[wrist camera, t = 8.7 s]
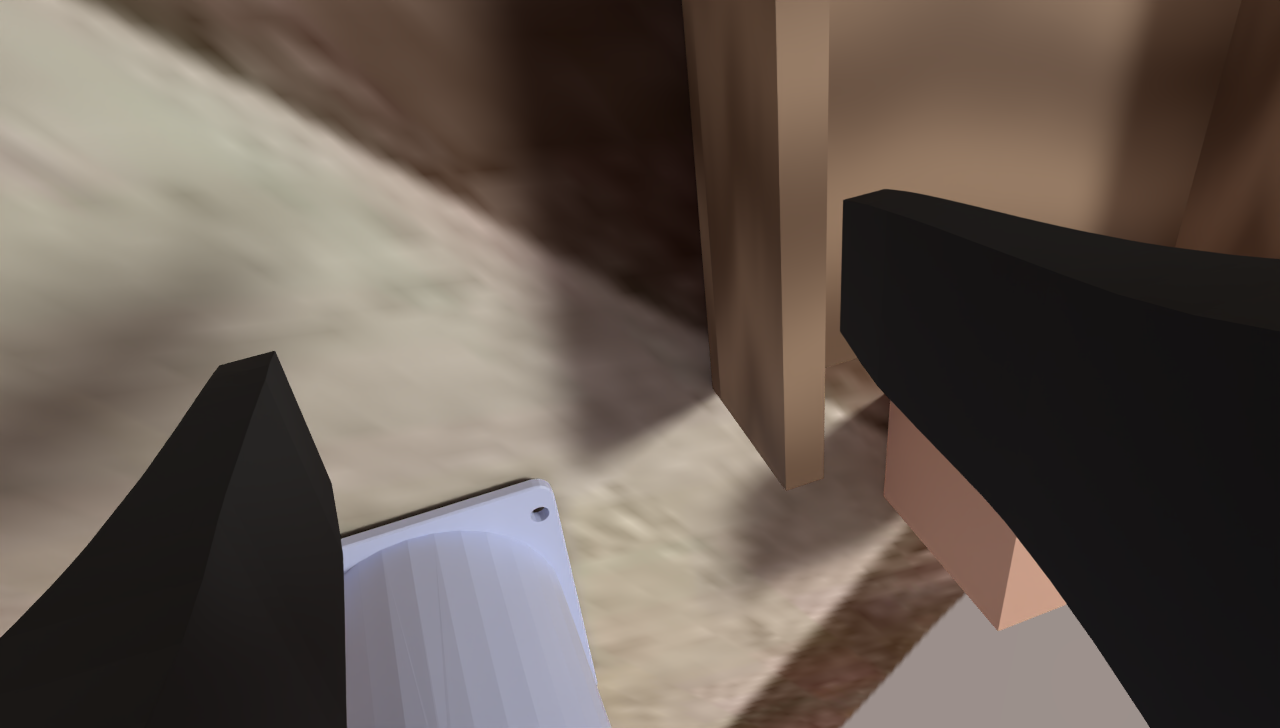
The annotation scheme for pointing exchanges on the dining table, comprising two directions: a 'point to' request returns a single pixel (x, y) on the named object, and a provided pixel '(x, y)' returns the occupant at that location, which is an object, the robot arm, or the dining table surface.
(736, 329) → the box
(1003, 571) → the block
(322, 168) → the dining table surface
